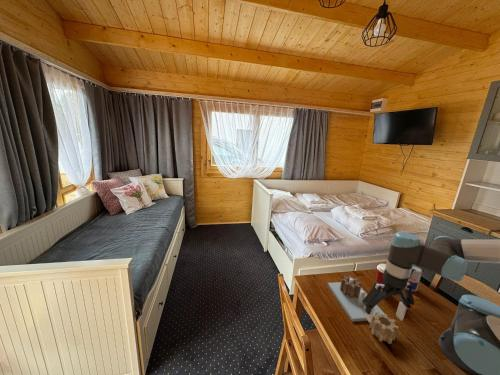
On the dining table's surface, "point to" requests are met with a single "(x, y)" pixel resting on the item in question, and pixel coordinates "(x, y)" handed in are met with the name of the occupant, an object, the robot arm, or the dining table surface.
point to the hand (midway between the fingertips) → (383, 318)
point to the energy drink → (415, 278)
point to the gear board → (352, 302)
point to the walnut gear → (350, 287)
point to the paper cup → (380, 274)
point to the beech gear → (383, 327)
